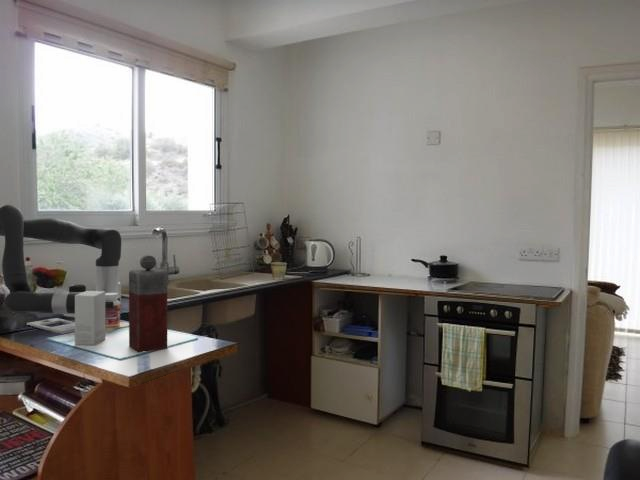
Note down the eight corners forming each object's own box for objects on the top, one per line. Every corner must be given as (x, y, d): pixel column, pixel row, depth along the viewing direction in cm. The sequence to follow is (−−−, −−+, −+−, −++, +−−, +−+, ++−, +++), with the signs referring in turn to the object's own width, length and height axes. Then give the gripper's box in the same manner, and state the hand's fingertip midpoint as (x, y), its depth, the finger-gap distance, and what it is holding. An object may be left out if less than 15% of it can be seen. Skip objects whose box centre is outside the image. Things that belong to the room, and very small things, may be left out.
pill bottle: (121, 326, 184) (121, 294, 183) (103, 327, 180) (103, 295, 180) (117, 322, 189) (117, 291, 188) (99, 324, 186) (99, 293, 185)
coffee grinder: (155, 340, 166) (155, 253, 165) (167, 348, 157) (167, 255, 155) (126, 344, 161) (126, 254, 159) (137, 352, 152) (137, 257, 150)
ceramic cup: (282, 280, 316) (282, 264, 315) (267, 279, 319) (267, 263, 319) (291, 278, 328) (291, 262, 327) (276, 277, 331) (277, 261, 331)
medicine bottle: (91, 314, 205) (91, 284, 204) (76, 318, 198) (76, 286, 197) (78, 313, 208) (78, 283, 207) (63, 316, 201) (63, 285, 200)
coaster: (114, 322, 192) (114, 321, 192) (132, 325, 186) (132, 324, 186) (90, 327, 183) (89, 325, 183) (107, 331, 178) (107, 329, 178)
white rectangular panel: (56, 320, 194) (56, 317, 194) (92, 328, 182) (92, 325, 182) (26, 325, 185) (26, 322, 185) (61, 333, 173) (61, 331, 172)
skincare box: (86, 338, 167) (86, 290, 166) (107, 339, 167) (106, 290, 166) (73, 345, 159) (73, 294, 158) (95, 345, 159) (94, 295, 158)
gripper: (61, 295, 175) (111, 295, 177) (75, 289, 189) (121, 289, 191) (61, 317, 176) (111, 317, 178) (75, 309, 190) (122, 309, 192)
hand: (116, 302), depth 184 cm, fingers open, 8 cm apart
